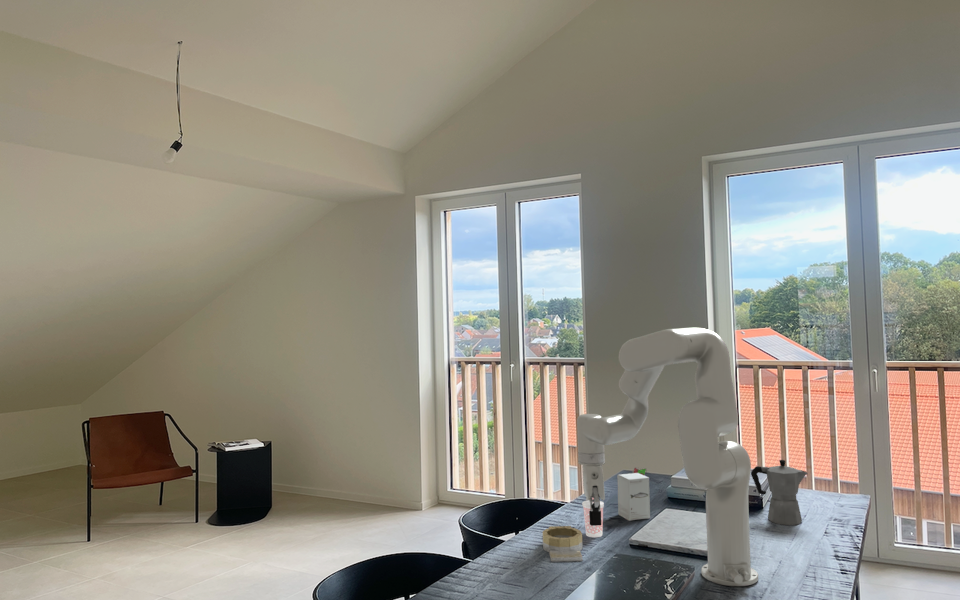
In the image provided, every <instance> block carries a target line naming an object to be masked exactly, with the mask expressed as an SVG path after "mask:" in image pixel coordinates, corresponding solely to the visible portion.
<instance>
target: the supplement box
mask: <svg viewBox="0 0 960 600" xmlns="http://www.w3.org/2000/svg"><path fill="white" fill-rule="evenodd" d="M616 476H617V477H616V479H617V509H618V511H617V514H618V515H619V516H620V517H622V518H624V519H625V520H627V521H628V522H631V521H635V520H647V519H651V503H650V502H651V501H650V500H651V499H650V479H649V478H650V476H648V475H646V476H644V475H642V474H639V473H623V474H622V473H620V474H617V475H616ZM647 476H648V477H647Z"/></svg>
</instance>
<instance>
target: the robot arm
mask: <svg viewBox="0 0 960 600" xmlns="http://www.w3.org/2000/svg"><path fill="white" fill-rule="evenodd" d="M618 362H619V364H620V366H621V368H623V369H624V370H623V373H622V375H621V377H620V378H619V380H618V388H619V390H620V391H621V392H622V394H624V395H625V396H627V398H628V399H627V401H626V403H625V405H624V407H623V408H622V411H621V413H620V414H613V415H609V416H604V417H603V416H601V415H600V414H597V413H582V414H580V415H578V416H577V420H576V430H577V431H576V432H577V434H576V436H577V456H578V457H577V460H578V462H577V463H578V465H581V466H582V467H581V469H582V488H583V494H584V496H585V501H588V500H589V501H590V511H589V517H590V525H591V526H596V525H601V509H600V501H601V500H602V502H604V501H605V499H606V495H605V483H604V482H605V481H604V479H605V478H604V470H603V465H604V464H605V463H606V458H605V457H606V456H605V446H608V445H615V444H618V443H621V442H626V441H630V440H632V439H633V438H635V437H637V434H638V433H639V432H640V430H641V429H642V427H643V425H644V423H645V422H646V419H647V417H648V413H649V405H650V404H649V395H650V394H651V391H652V389H653V388H654V386H655V385H656V382H657V381H658V379H659V378H660V375H661V373H662V372H663V370H664V369H665V366H670V365H675V364H685V363H691V362H694V363H696V364H697V365H696V366H697V367H696V370H695V374H694V383H695V389H696V390H695V391H696V399H692V400H689V401H688V402H685V404H683V406H682V407H681V409H680V411H679V413H678V419H677V427H678V428H677V429H678V435H679V442H680V450H681V451H680V452H681V457H682V465H683V469H684V472H685V475H686V477H687V479H688V480H689V482H691V483H690V484H692V485H693V486H694V487H695V488H698V489H701V490H706V491H705V518H706V519H705V521H706V542H707V543H706V544H707V545H706V546H707V547H706V548H707V550H706V551H707V563H706V564H704V565H702V566H701V571H700V573H701V576H702V577H703V578H704V579H706V580H707V581H708V582H709V581H710V582H711V583H714V584H718V585H722V586H729V587H746V586H748V587H749V586H752V585H754V584H756V583H757V582H758V581H759V573H758V572H757V570H755V569H754V568H752V567H751V561H752V560H751V541H750V540H751V538H750V536H751V535H750V517H749V516H750V515H749V511H750V510H749V507H750V506H749V505H750V504H749V492H750V491H749V488H750V480H751V479H750V478H751V471H752V466H751V465H752V463H751V458H750V456H749V453H748V451H747V449H745V447H743V445H741V444H739V443H738V442H736V441H731V440H722V441H719V438H720V437H724V436H727V435H729V434H732V433H733V432H734V431H735V430H736V429H737V426H738V424H739V415H738V408H737V402H736V394H735V389H734V388H735V387H734V382H733V378H732V368H731V367H732V366H731V357H730V351H729V349H728V346H727V343H726V342H725V341H724V339H723V338H722V336H720V335H719V334H717V333H716V332H715V331H712V330H709V329H708V328H707V329H706V328H703V327H680V328H679V327H678V328H667V329H661V330H659V331H655V332H652V333H648V334H644V335H641V336H638V337H634V338H630V339H628V340H627V341H625V342H624V343H622V345H621V347H620V349H619V352H618ZM592 490H593V491H592ZM592 498H594V499H593V500H592ZM592 502H594V503H593V504H592Z"/></svg>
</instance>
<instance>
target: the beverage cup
mask: <svg viewBox="0 0 960 600" xmlns="http://www.w3.org/2000/svg"><path fill="white" fill-rule="evenodd" d="M592 491H593V490H592ZM593 499H594V498H592V500H593ZM593 503H594V502H592V504H593ZM604 504H605V503H604V501H603V500H602V501H601V500H600V509H601V525H596V526H591V525H590V517H589V511H590V501H589V500H588V501H586V500H584V501H582V503H581V505H582V507H583V516H584V517H583V519H584V527H585V535H586V536H587V537H589V538H600V537H602V536H603V530H604V529H603V526H604V525H603V523H604V521H603V520H604V507H605V505H604Z"/></svg>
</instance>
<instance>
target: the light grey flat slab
mask: <svg viewBox="0 0 960 600" xmlns="http://www.w3.org/2000/svg"><path fill="white" fill-rule="evenodd" d="M552 537H558V538H568V537H572V536H566V535H557V536H552ZM542 548H543V551H545V552H548V553H549V557H550V558H549V559H550V562H554V563H555V562H558V563H559V562H583V559H584V558H583V555H582V553H581V551H582V550H583V548H584V547H583V541H582V542H581V543H580V544H579V545H575V546H571V547H556V546H550V545H548V544H546V543H544V542H543V541H542Z"/></svg>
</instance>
